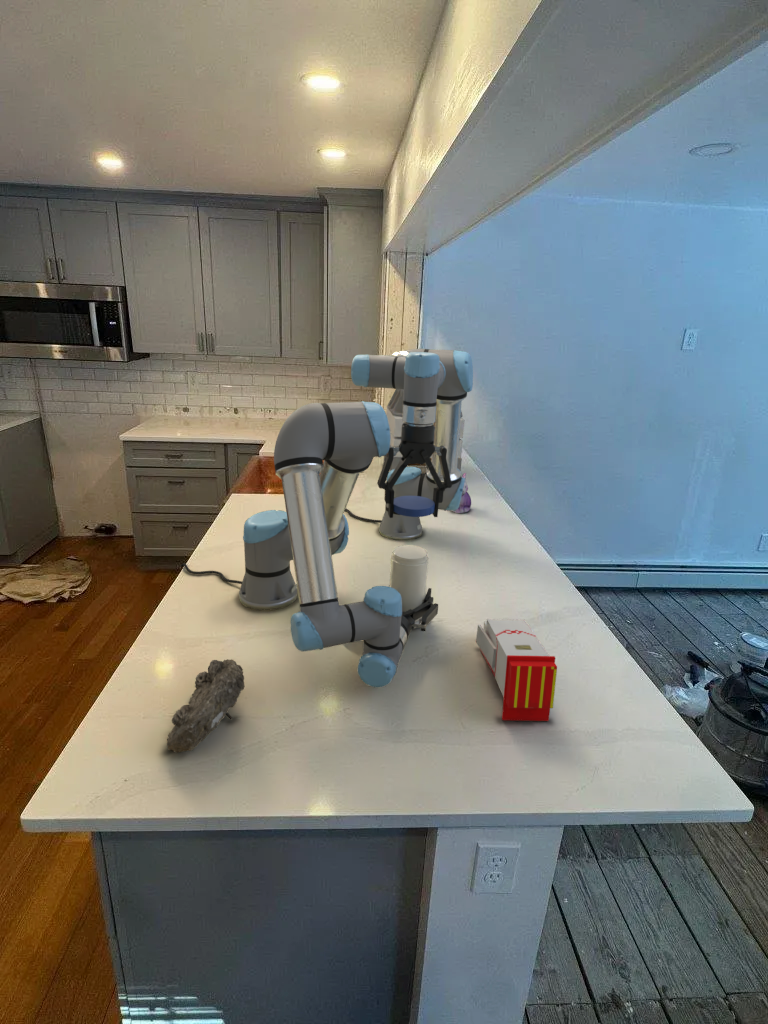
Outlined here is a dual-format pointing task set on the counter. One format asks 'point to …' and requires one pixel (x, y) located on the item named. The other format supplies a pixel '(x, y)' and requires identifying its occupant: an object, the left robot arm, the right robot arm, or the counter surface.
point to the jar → (409, 575)
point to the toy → (519, 668)
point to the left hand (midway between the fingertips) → (410, 590)
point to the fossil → (206, 705)
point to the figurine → (464, 499)
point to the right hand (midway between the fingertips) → (412, 515)
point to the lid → (413, 506)
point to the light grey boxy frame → (395, 427)
